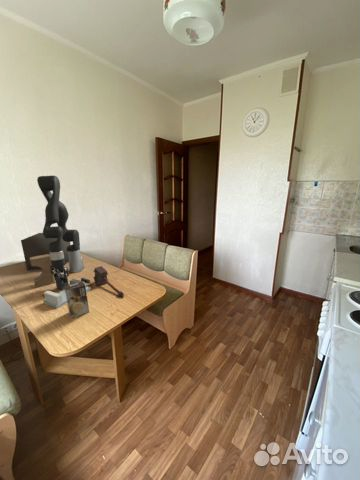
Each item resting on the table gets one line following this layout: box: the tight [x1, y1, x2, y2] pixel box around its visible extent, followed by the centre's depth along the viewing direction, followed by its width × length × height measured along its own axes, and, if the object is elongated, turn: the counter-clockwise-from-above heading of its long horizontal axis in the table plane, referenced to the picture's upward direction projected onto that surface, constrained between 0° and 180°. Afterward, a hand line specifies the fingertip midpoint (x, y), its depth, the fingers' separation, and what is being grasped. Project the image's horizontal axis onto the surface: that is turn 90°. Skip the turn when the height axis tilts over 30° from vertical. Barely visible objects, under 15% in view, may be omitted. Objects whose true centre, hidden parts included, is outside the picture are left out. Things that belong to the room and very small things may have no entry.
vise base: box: [42, 285, 91, 309], centre depth 122 cm, size 23×12×6 cm, turn 156°
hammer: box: [93, 265, 125, 298], centre depth 131 cm, size 7×33×10 cm, turn 47°
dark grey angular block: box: [20, 232, 72, 271], centre depth 171 cm, size 25×25×25 cm
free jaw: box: [69, 277, 91, 287], centre depth 130 cm, size 8×11×5 cm
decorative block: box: [29, 254, 56, 289], centre depth 136 cm, size 11×6×20 cm, turn 130°
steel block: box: [54, 274, 70, 292], centre depth 131 cm, size 5×5×9 cm
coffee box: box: [64, 280, 90, 319], centre depth 105 cm, size 9×6×16 cm
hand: (61, 281), depth 131 cm, fingers open, 8 cm apart
